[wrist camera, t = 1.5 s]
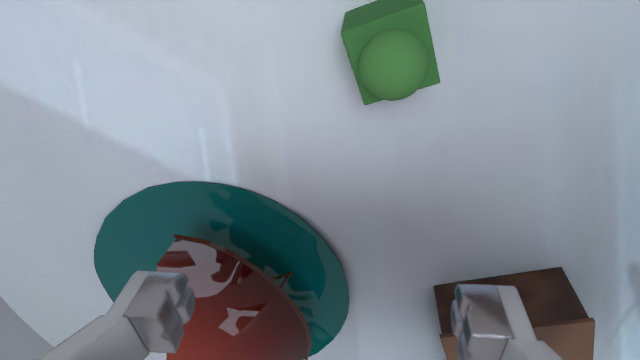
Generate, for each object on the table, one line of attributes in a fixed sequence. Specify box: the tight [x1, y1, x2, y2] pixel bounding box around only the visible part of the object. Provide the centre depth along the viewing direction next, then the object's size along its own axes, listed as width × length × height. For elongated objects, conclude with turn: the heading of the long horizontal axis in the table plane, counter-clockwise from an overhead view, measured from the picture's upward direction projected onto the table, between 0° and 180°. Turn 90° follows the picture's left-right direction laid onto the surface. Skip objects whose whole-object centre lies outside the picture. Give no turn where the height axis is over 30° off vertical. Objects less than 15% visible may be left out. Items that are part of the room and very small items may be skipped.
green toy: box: [341, 0, 440, 105], centre depth 21 cm, size 4×4×8 cm
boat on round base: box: [94, 182, 349, 360], centre depth 37 cm, size 28×28×11 cm
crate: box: [434, 267, 595, 360], centre depth 37 cm, size 12×10×6 cm
